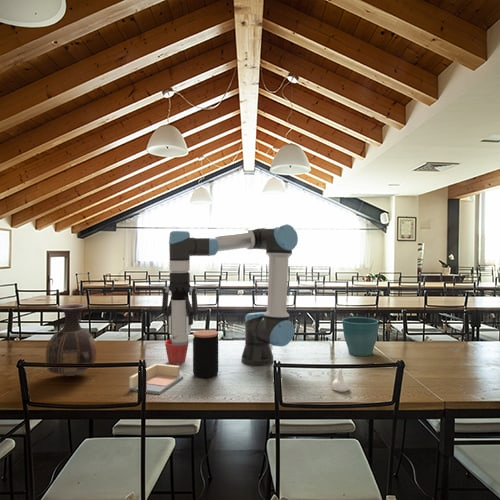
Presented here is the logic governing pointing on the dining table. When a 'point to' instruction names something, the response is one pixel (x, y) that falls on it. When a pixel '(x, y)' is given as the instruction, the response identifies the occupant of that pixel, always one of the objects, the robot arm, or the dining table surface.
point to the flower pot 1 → (176, 352)
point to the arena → (158, 378)
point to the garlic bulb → (340, 383)
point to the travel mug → (179, 318)
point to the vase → (71, 343)
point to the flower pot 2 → (360, 335)
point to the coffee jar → (205, 354)
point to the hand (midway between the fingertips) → (179, 333)
